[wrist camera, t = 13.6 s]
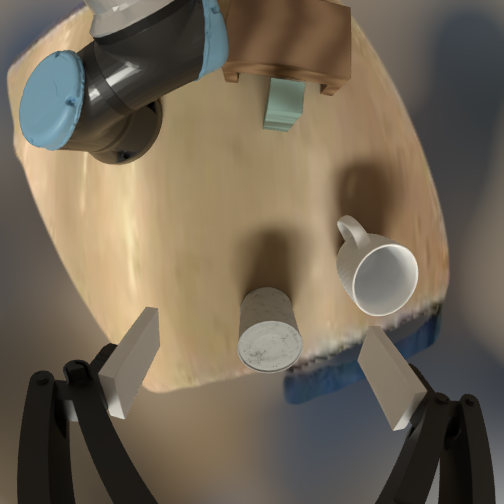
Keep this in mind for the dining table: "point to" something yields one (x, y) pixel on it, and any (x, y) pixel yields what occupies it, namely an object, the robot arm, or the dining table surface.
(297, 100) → the sweep tool
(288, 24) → the wooden bench
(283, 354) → the speckled white cylinder
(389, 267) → the mug
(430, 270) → the dining table surface
